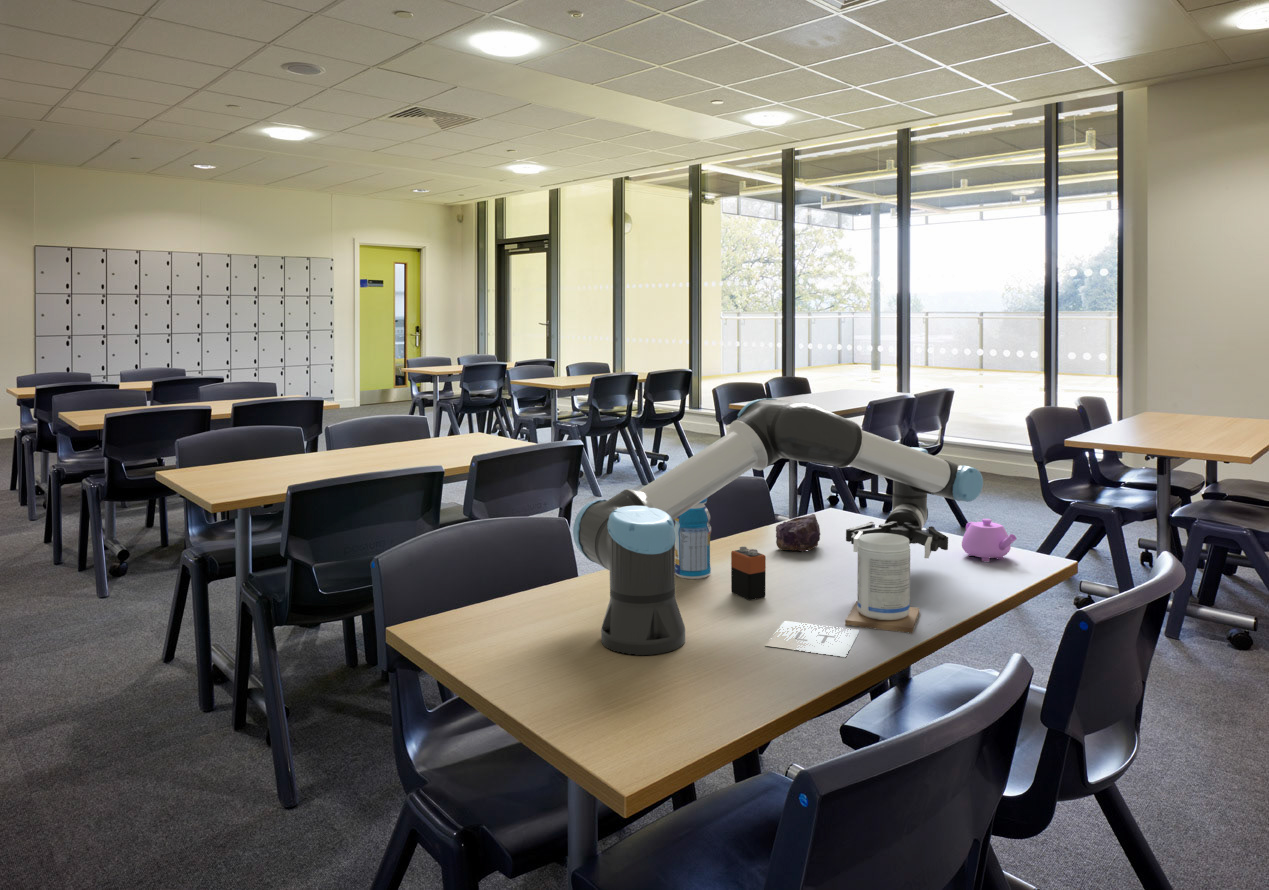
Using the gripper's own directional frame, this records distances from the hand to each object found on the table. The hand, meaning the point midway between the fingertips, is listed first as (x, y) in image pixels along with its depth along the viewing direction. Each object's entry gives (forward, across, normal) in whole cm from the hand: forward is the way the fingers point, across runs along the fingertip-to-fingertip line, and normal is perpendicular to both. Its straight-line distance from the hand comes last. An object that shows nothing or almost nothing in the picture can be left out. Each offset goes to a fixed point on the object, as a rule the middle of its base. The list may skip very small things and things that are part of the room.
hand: (890, 548), depth 168 cm
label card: (+24, +10, -12) cm, 28 cm away
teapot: (-44, -17, -12) cm, 49 cm away
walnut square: (+9, 0, -12) cm, 14 cm away
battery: (+4, +28, -12) cm, 31 cm away
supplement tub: (+9, 0, -11) cm, 14 cm away
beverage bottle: (-6, +44, -12) cm, 46 cm away
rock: (-37, +26, -12) cm, 47 cm away
